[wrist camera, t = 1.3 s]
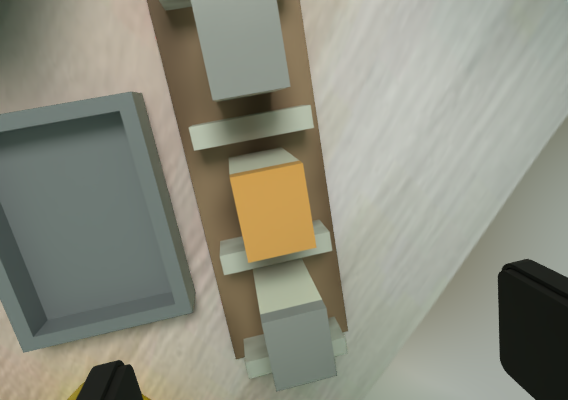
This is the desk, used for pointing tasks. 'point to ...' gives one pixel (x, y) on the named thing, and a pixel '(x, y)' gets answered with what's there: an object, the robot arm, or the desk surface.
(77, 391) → the element tile
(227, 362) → the desk surface
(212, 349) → the desk surface
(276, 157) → the block
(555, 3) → the desk surface
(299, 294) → the block
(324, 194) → the fuse board
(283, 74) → the block
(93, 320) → the tray
